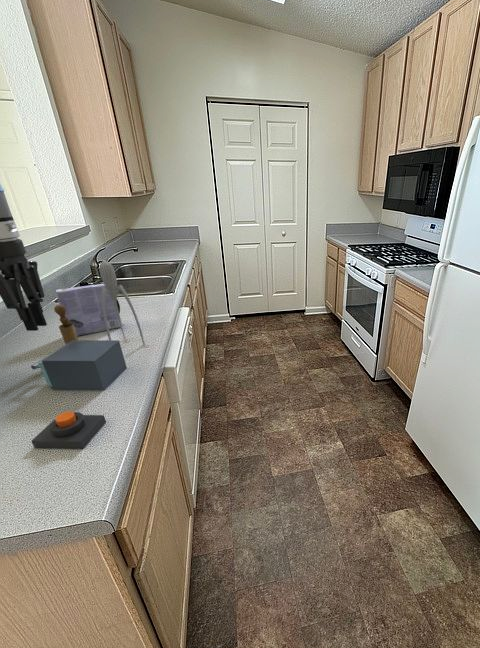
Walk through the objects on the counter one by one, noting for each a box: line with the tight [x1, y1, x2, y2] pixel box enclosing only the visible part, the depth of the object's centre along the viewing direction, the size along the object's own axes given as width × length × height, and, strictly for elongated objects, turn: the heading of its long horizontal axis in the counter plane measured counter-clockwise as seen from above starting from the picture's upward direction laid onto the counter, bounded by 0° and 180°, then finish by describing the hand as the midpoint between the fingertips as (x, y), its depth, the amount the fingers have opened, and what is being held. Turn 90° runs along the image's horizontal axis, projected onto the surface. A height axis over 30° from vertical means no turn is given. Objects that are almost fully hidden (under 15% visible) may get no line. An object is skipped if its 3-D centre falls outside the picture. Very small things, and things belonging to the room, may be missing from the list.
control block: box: [30, 411, 107, 450], centre depth 76 cm, size 11×9×4 cm
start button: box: [54, 411, 76, 427], centre depth 75 cm, size 4×4×2 cm
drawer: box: [30, 343, 66, 387], centre depth 96 cm, size 18×11×8 cm, turn 88°
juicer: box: [98, 260, 146, 346], centre depth 111 cm, size 10×9×30 cm
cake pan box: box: [55, 283, 123, 337], centre depth 127 cm, size 19×5×18 cm, turn 123°
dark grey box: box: [42, 339, 128, 392], centre depth 96 cm, size 15×13×10 cm
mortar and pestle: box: [53, 304, 79, 345], centre depth 107 cm, size 7×6×18 cm
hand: (37, 327), depth 91 cm, fingers open, 3 cm apart
